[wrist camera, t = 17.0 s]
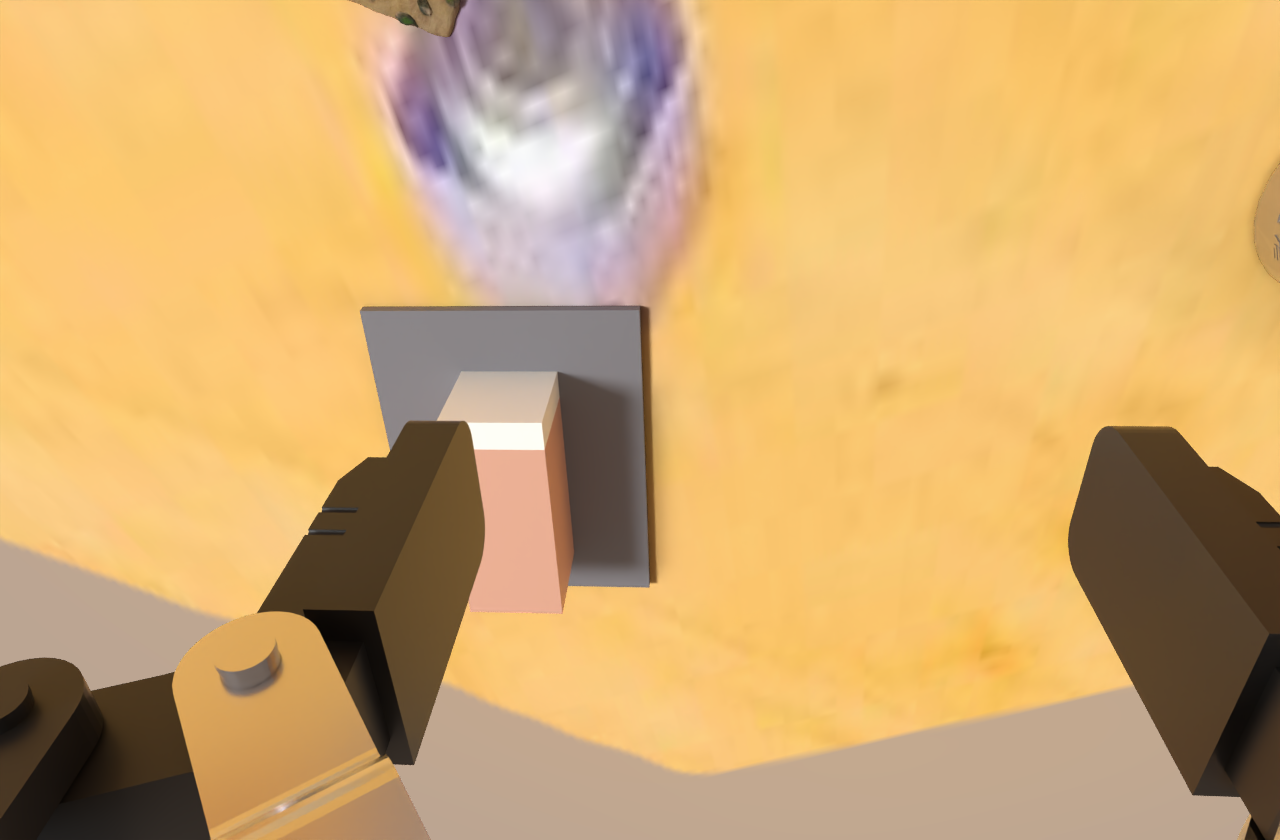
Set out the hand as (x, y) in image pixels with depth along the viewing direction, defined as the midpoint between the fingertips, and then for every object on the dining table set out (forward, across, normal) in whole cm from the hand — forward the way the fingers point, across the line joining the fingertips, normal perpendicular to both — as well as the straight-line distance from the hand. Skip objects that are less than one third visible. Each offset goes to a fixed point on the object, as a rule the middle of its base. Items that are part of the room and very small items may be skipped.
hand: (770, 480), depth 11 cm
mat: (+30, +11, +20) cm, 38 cm away
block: (+27, +11, +26) cm, 39 cm away
